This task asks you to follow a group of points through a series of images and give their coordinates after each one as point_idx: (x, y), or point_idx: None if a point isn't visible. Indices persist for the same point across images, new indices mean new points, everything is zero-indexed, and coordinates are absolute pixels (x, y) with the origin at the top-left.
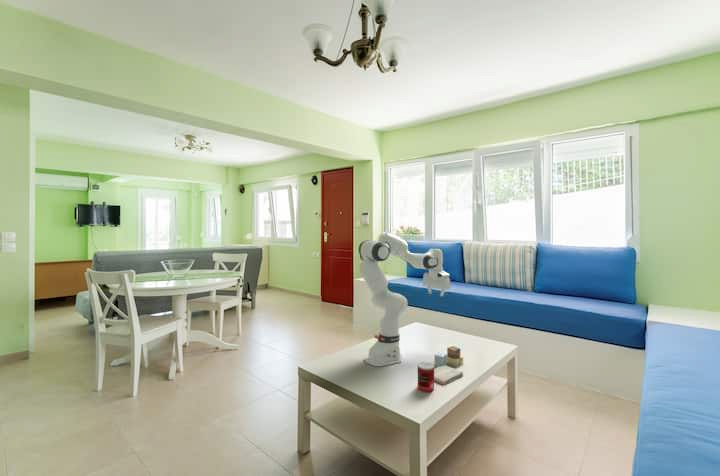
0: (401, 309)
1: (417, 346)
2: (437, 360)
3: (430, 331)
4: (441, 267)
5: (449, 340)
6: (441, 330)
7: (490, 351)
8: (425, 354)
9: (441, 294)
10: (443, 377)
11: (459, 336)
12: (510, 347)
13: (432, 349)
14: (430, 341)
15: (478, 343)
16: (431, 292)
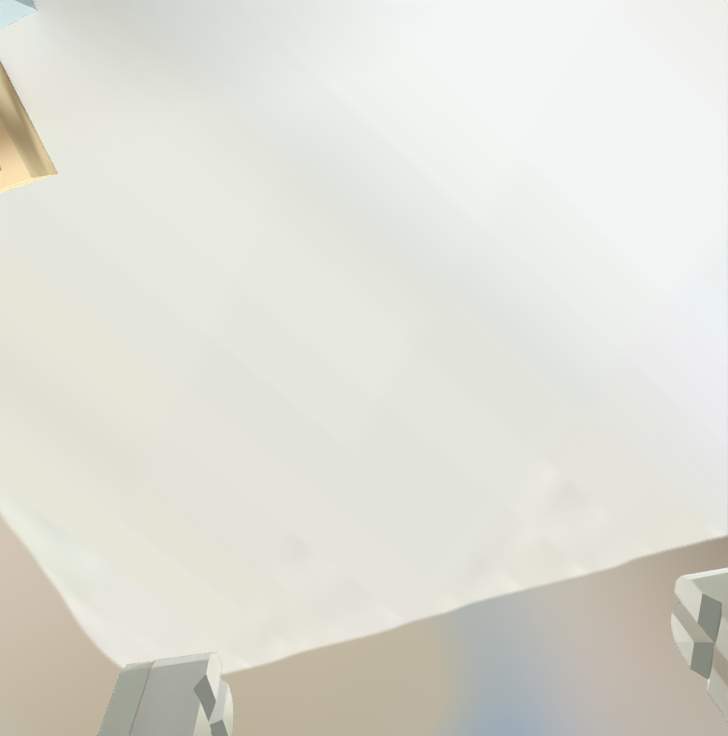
0: None
1: (460, 122)
2: None
3: (663, 465)
4: None
5: (427, 454)
6: (623, 543)
7: (119, 536)
8: (259, 44)
9: (108, 718)
10: None
11: (453, 562)
12: None
13: (333, 197)
14: (492, 314)
15: (278, 572)
16: (710, 666)
